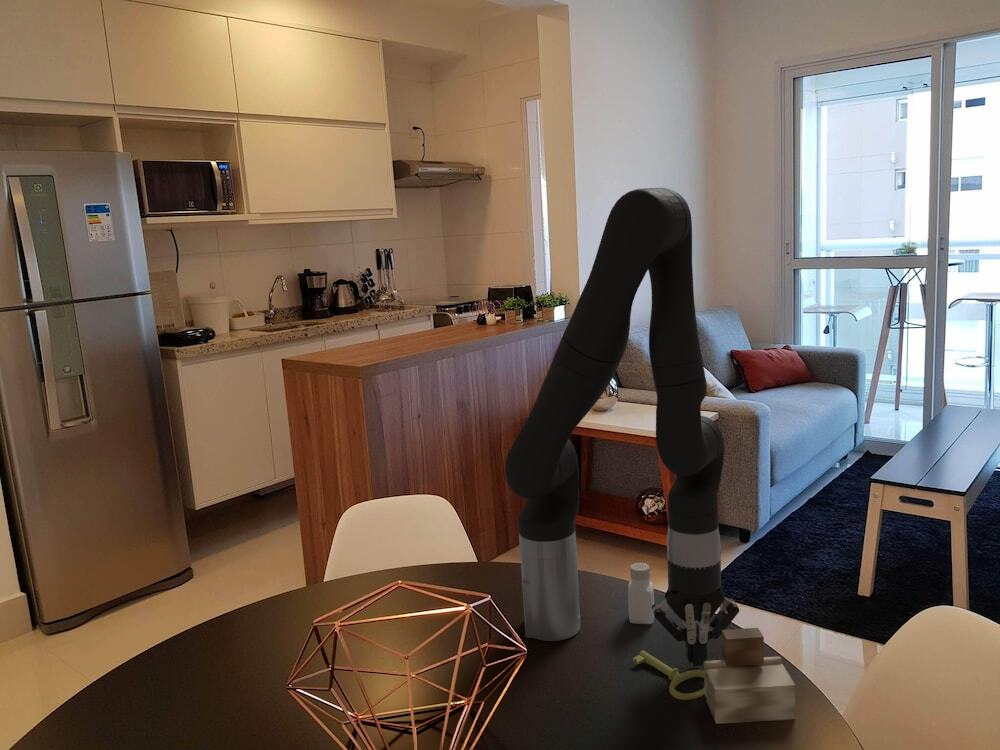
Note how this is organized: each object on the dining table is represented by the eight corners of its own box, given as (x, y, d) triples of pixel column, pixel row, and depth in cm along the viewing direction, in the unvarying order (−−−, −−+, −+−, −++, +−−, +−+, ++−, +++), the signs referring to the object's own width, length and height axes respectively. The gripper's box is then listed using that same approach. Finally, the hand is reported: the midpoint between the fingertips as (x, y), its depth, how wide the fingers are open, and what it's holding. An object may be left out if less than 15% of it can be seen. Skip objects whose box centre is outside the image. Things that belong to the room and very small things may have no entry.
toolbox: (716, 723, 108) (715, 689, 107) (706, 701, 113) (705, 668, 112) (795, 719, 108) (795, 685, 107) (782, 696, 113) (782, 663, 112)
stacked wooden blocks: (713, 714, 110) (711, 652, 108) (703, 690, 115) (702, 631, 113) (791, 709, 110) (791, 647, 108) (777, 686, 115) (777, 626, 113)
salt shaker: (628, 624, 135) (626, 571, 133) (630, 612, 139) (628, 560, 137) (653, 626, 134) (651, 572, 132) (654, 614, 138) (652, 561, 136)
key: (640, 660, 125) (639, 648, 125) (718, 682, 118) (717, 669, 118) (619, 684, 120) (618, 671, 119) (699, 709, 113) (699, 695, 112)
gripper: (732, 541, 121) (733, 647, 125) (643, 546, 122) (647, 652, 125) (747, 562, 114) (748, 674, 117) (652, 568, 114) (656, 680, 118)
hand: (696, 663), depth 121 cm, fingers closed
